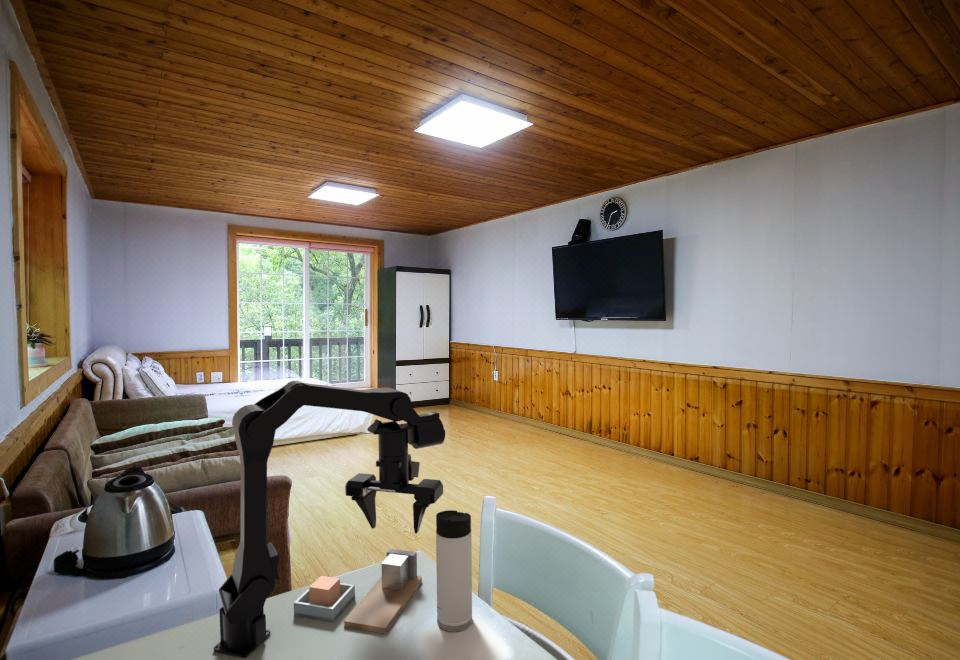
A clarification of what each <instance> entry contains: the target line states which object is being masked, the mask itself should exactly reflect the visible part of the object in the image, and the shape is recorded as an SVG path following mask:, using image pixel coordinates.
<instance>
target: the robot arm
mask: <svg viewBox="0 0 960 660" xmlns="http://www.w3.org/2000/svg"><path fill="white" fill-rule="evenodd" d="M303 406H308V407H317V408H318V407H319V408H328V409H339V410H345V411H347V410H348V411H355V412H363V413H368V414H371V415H373V416H377V417H379V418H383V419H387V420H389V421H384V422H382V421H381V420H380V419H377V418H376V419H374V422H373V423H372V424H371V425H369V426H368V427H367V432H369V433H371V434H373V435H375V436H376V435H377V436H378V437H377V439H378V440H377V441H378V442H377V443H378V459H377V460H376V461H375V466H376V467H378V472H379V473H378V476H379V477H378V478H379V480H377V476H376V475H375V474H373V473H357V474H356V475H354V476H353V477H351V478H350V479H348V481H347V482H346V483H345V486H344V492H345V496H347V497H350V499H351V501H353V502H354V501H355V503H356V504H357V506H358V507H359V508H360V510H361V512H362V513H363V514H364V517H365V518H366V520H367V522H368V525H369V526H370V527H371V529H375V528H376V526H377V509H376V496H377V493H378V492H383V493H384V492H385V493H394V494H395V493H396V494H405V495H406V494H407V495H413V498H414V500H415V501H414V503H412V512H413V513H412V515H413V516H412V517H413V519H412V520H413V530H414V534H415V535H416V534H418V533H419V531H420V528H421V524H422V521H423V519H424V515H425V512H426V510H427V508H429V507H430V506H431V505H432V504H436V502H437V501H439V499H440V498H441V497H442V496H443V494H444V484H443V483H442V481H441V480H440V479H432V478H431V479H429V478H423V479H422V480H421V481H420V482H419V483H410V481H411V482H412V481H413V480H414V479H415V478H419V474H420V465H421V462H420V461H415V460H414V461H412V456H411V454H409V445H410V446H412V448H413V449H416V450H418V449H423V448H428V447H434V446H438V445H442V444H444V442H445V439H446V430H445V428H444V424H443V422H442V420H441V418H440V413H439V412H436V411H429V412H427V413H422V414H419V413H418V412H417V411H416V410H415V409H414V408H413V405H412V400H411V398H410V395H409V394H408V393H406V392H403V391H401V390H398V389H395V388H392V387H375V388H368V389H354V388H347V387H346V388H345V387H337V386H332V385H331V386H329V385H324V384H316V383H315V384H314V383H308V382H302V381H300V380H291V381H288V382H287V383H286V384H285V385H284V386H282V387H281V388H279V389H277V390H275V391H274V392H272V393H269V394H268V395H266V396H264V397H262V398H261V399H259V400H258V401H257V402H255V403H253V404H247V405H244V406H242V407H240V408H238V410H237V411H236V412H234V414H233V416H232V419H231V421H232V422H231V423H232V424H231V425H232V430H233V431H232V432H233V435H234V440H235V444H236V449H237V453H238V456H239V460H240V541H239V544H238V547H237V550H236V552H235V554H234V555H235V556H234V560H233V566H232V571H231V575H229V577H228V578H227V579H226V580H225V581H224V582H223V584H222V585H221V586H220V587H219V588H218V594H219V598H220V599H221V601H220V602H221V604H222V606H221V608H219V634H220V635H219V637H220V638H219V639H220V641H219V642H218V643H217V644H215V646H214V647H213V652H216V653H220V654H226V655H230V656H235V657H241V658H246V657H248V656H249V655H250V654H251V653H252V652H254V650H255V649H257V648H258V646H260V644H262V643H263V642H264V641H265V640H266V638H267V637H269V636H270V635H271V632H272V631H271V629H268V628H267V619H266V613H264V611H265V610H264V607H265V603H266V600H267V598H268V597H269V596H270V595H271V593H273V592H274V590H275V586H276V580H277V581H279V580H280V576H279V573H278V567H279V562H280V555H279V554H278V551H277V550H276V548H275V546H274V545H273V542H272V541H270V542H267V540H268V539H267V538H268V533H267V532H268V529H267V528H268V527H267V526H268V523H267V522H268V503H267V502H268V460H269V457H270V455H271V452H272V450H273V445H274V441H275V435H276V431H277V430H278V429H279V428H280V427H282V426H283V425H284V424H286V423H287V422H288V421H289V420H290V418H291V417H292V416H293V415H295V413H296V412H297V411H298V410H300V409H301V408H302V407H303ZM398 422H404V423H398Z"/></svg>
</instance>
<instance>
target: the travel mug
mask: <svg viewBox="0 0 960 660" xmlns="http://www.w3.org/2000/svg"><path fill="white" fill-rule="evenodd" d="M435 517H436V518H435V526H436V530H435V533H436V535H435V548H436V550H435V551H436V553H435V554H436V613H437V614H436V618H437V619H436V620H437V621H436V622H437V625H438V626H439V627H440V628H441V629H442V630H444V631H447V632H453V633H454V632H456V633H457V632H461V631H464V630H466V629H467V628H469V627H470V626H471V624H472V623H473V583H472V581H473V580H472V579H473V578H472V577H473V575H472V573H473V572H472V571H473V569H472V568H473V567H472V566H473V565H472V564H473V562H472V550H473V549H472V518H471V517H472V516H471V515H470V513H468V512H462V511H458V510H453V509H452V510H450V509H449V510H443V511H442V510H441V511H439V512H438V513H436V515H435Z"/></svg>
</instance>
